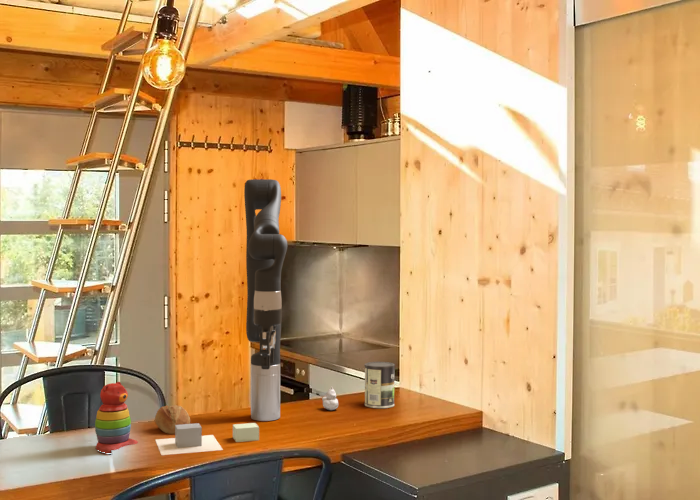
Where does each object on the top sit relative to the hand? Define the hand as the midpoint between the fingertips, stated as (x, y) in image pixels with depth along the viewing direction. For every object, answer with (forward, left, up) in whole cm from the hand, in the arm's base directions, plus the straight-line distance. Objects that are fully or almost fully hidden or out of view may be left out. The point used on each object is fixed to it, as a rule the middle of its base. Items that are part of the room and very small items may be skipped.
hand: (267, 366), depth 219 cm
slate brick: (-4, -21, -21) cm, 30 cm away
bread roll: (-23, -23, -23) cm, 40 cm away
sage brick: (-5, -5, -22) cm, 24 cm away
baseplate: (-4, -21, -22) cm, 31 cm away
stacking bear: (-11, -40, -23) cm, 47 cm away
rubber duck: (-37, +30, -23) cm, 53 cm away
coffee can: (-38, +48, -23) cm, 66 cm away
